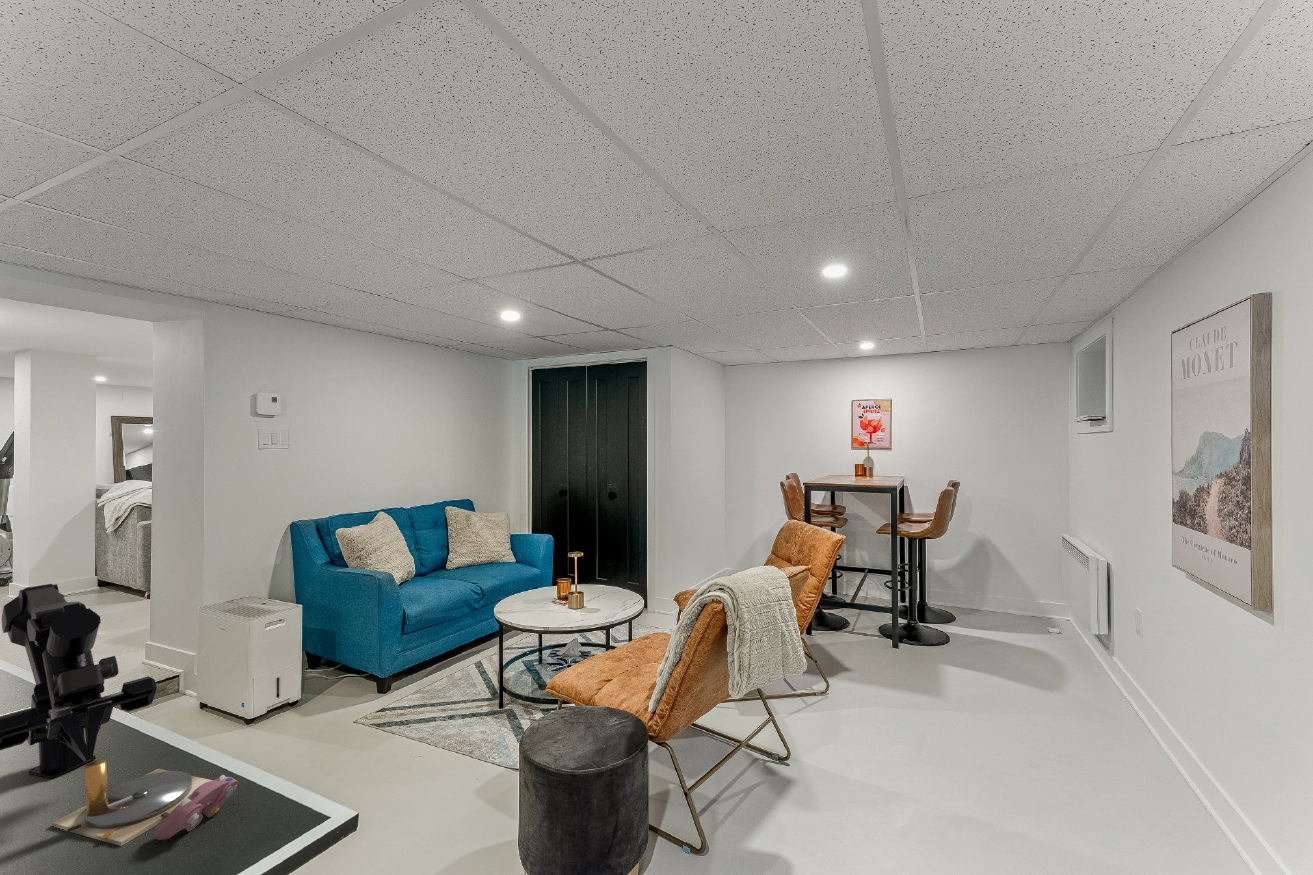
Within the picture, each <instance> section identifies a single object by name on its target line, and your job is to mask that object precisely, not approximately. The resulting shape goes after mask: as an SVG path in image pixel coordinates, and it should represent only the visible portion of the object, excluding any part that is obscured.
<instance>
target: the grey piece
mask: <svg viewBox="0 0 1313 875" xmlns="http://www.w3.org/2000/svg"><path fill="white" fill-rule="evenodd" d="M107 769H108V767H107V759H98V760H93V761H90V762H88V763H86V764H85V766H84V784H85V788H84V789H85V806H86V809H85V812H84V819H85V823H86V824H87V825H88V826H90V827H94V828H113V827H119V826H124V825H128V824H132V823H135V822H138V821H141V820H144V819H147V818H150V817H152V816H154V815H157V814H159V813H161V812H163V811H165V810H167V809H169V808H170V807H172V806H174V805H175V804H177V803H178V802H179V801H181V800H182V799H183V798H184V797H185V796H186V795H187V794H188V793H189V792H190V790H191V788H192V777H191V776H192V775H191V774H189V773H188V772H185V771H180V770H167V771H165V772H158V773H153V774H149V775H147V774H145V775H141V776H139V777H136V778H133V779H130V780H128V781H125V782H122V783H120V784H118V785H116V786H113V787H111V788H109V787H108V770H107ZM108 788H109V789H108Z"/></svg>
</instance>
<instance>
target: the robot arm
mask: <svg viewBox="0 0 1313 875" xmlns="http://www.w3.org/2000/svg"><path fill="white" fill-rule="evenodd" d="M1 612H2V613H1V628H2V633H3V634H7V635H8V637H9V641H10V643H11V644H15V645H17V646H21V647H24V648H25V651H26V654H27V657H28V658H27V659H28V662H29V665H30V668H31V673H32V675H33V680H34V683H35V686H34V688H33V693H32V694H31V704H30V708H27V709H22V710H20V711H19V710H18V711H16V712H12V713H9V714H5V715H1V716H0V751H3V750H7V749H9V748H13V747H16V746H20V745H23V744H24V742H26V741H27V743H28V744H29V746H31V747H32V746H34V745H36V744H38V759H39V765H37V766H35V767H33V768H30V769H28V774H29V775H34V776H39V777H43V778H46V779H55V778H57V777H59V776H61V775H64V774H65V773H67V772H70V771H72V770H74V769H76V768H79V767H80V766H84V765H87V764H89V763H91V762H93V761H95V760H96V759H97V758H96V757H97V755H94V754H95V753H94V752H95V749H96V748H95V747H96V742H97V737H98V734H99V732H100V729H101V727H102V725H104V724H107V723H108V722H109V721H110V720H111V717H112V714H113V709H114V707H116V706H119V707H120V710H121V711H124V712H132V711H135V710H138V709H142V708H146V707H148V706H150V705H151V704H153V701H154V698H155V695H156V692H157V689H158V687H157V682H156V679H154V678H153V677H151V676H150V675H148V676H145V677H141V678H138V679H134V680H129V681H127V682H123V683H122V688H121V691H120V692H115V693H112V694H109V695H105V696H102V694H103V693H104V692H105V680H108V679H109V680H110V679H112V678H116V677H117V676H118V674H119V666H118V665H119V664H118V661H117V657H116V655H113V656H109V657H104V658H101V659H100V660H99V661H98V664H95V662H94V657H93V653H92V649H93V647H94V645H95V643H96V639H97V636H98V632H99V627H100V625H101V624H102V623H101V621H102V619H101V616H100V615H99V614H98V613H96V611H94V610H92V609H91V608H89V607H88V608H87V607H86V605H85V604H84V602H82V601H81V602H80V601H70V602H68V601H67V600H66V599H65V595H64V594H62V593H60V592H59V587H58V584H57V583H55V584H53V583H46V584H40V585H35V586H29V587H24V588H23V589H20V590H19V591H18V595H17V596H16V597H14V598H13V599H12V600H10V601H9V602H7V603H6V604H5V605H3V608H2V611H1Z"/></svg>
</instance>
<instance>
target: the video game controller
mask: <svg viewBox="0 0 1313 875" xmlns="http://www.w3.org/2000/svg"><path fill="white" fill-rule="evenodd" d="M238 786H239V781H238V780H237V779H235V778H234V777H231V776H226V775H224V774H221V775H220V776H219V778H217V779H213V781H210V782H206V783H204V784H202V785H200V786H199V787H198V788H196V789H195V790H194V792H193V793H192V794H191V795H190V796H189V797H187V798H186V799H184V800H183V801H182V802H181V803H180V804H179V805H178V806H177V807H176V808H175V809H174V810H173V811H172V812H171V813H170V814H169V815H168V816H167V817H166V818H165V819H164V820H163V821H162V822H160V823H159V824H158V825H156V826H155V827H154V828H155V829H154V831H153V832H154V833H153V834H154V837H155V839H156V840H158V841H165V840H169V839H171V838H172V837H173V836H175V835H176V834H178V833H179V832H180V831H182V830H186V831H187V832H191V830H192V829H193V830H194V829H196V828H197V827H198V826H199V824H200V823H201V822H202V820H203V819H204V818H203V817H204V816H203V815H205V816H206V817H207V818H211V816H212V815H213V816H215V815H216V814H217V813H218V812H219V811H220V809H221V808H222V806H223V805H224V804H225V803H226V801H228V799H230V797H232V795H233V794H234V793H235V791H236V790H237V789H238ZM215 813H216V814H215ZM213 816H212V817H213ZM197 825H198V826H197ZM196 826H197V827H196ZM195 827H196V828H195ZM193 830H192V831H193Z"/></svg>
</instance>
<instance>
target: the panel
mask: <svg viewBox="0 0 1313 875" xmlns="http://www.w3.org/2000/svg"><path fill="white" fill-rule="evenodd" d="M165 771H168V770H166V769H163V768H157V769H154V770H153V771H150V772H148V773H146V775H149V774H153V773H158V772H165ZM191 777H192V788H191V790H190V792H189V793H188V794H187V795H186V796H185V797H184V798H183V799H182V800H181V801H179V802H178V803H177V804H175V805H174V806H172V807H170V808H169V809H167V810H165V811H163V812H161V813H159V814H157V815H154V816H152V817H150V818H147V819H144V820H141V821H138V822H135V823H132V824H128V825H124V826H119V827H113V828H94V827H90V826H88V825H87V824H86V823H85V819H84V812H85V809H86V805H85V806H81V807H80V808H77V809H76V810H74V811H72V812H71V813H68V814H67V815H64V816H63V817H60V818H58V819H57V820H55V821H53V822H51V826H52V825H53V826H55V827H58V828H60V830H62V829H64V830H63V831H65V832H67V833H69V832H70V833H72V834H73V833H74V834H77V835H81V836H84V837H88V838H91V839H95V840H98V841H102V842H105V843H109V844H113V845H116V846H120V847H122V846H124V845H125V844H127V843H129V842H131V841H132V840H134V839H136V838H138V837H140V836H141V835H143V834H145V832H148V831H149V830H151V829H153V828H155V827H157V825H158V824H159V823H160V822H162V821H163V820H164V819H165V818H166V817H167V816H168V815H169V814H170V813H171V812H172V811H173V810H174V809H175V808H176V807H177V806H178V805H179V804H180V803H181V802H182V801H183V800H184V799H186V798H187V797H189V796H190V795H191V794H192V793H193V792H194V790H195V789H196V788H198V787H199V786H200V785H202V784H204V783H206V782H210V781H213V780H214V779H213V780H212V779H209V778H203V777H199V776H194V775H191ZM55 827H54V828H55ZM58 828H57V829H58Z"/></svg>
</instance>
